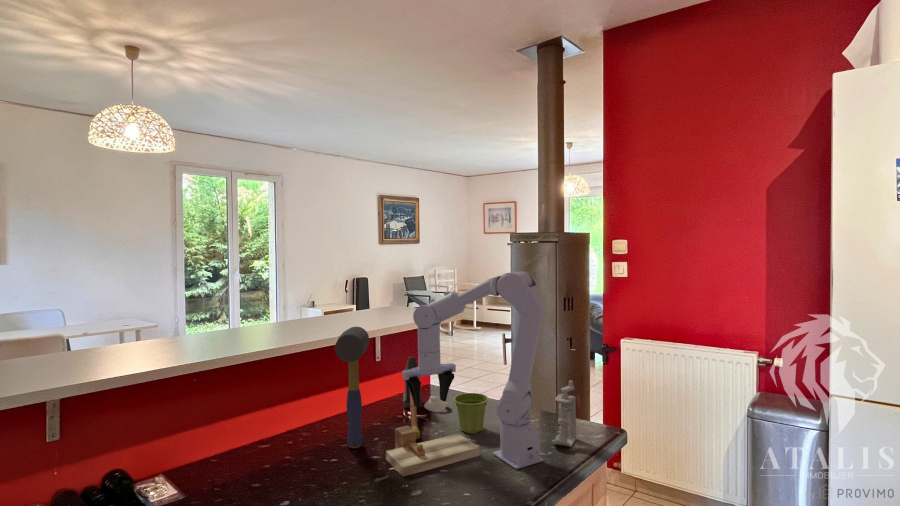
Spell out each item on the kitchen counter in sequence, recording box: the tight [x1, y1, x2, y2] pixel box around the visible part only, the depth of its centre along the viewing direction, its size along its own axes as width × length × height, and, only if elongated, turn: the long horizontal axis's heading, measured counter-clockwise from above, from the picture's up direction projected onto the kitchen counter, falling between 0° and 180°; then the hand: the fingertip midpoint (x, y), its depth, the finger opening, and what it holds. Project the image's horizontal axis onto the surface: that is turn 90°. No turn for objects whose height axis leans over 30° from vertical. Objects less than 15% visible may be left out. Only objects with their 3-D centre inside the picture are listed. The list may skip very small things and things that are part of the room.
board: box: [385, 433, 481, 477], centre depth 116 cm, size 10×20×2 cm, turn 119°
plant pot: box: [453, 392, 489, 434], centre depth 133 cm, size 9×9×9 cm
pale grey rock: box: [423, 395, 450, 413], centre depth 151 cm, size 8×7×5 cm
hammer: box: [402, 356, 423, 440], centre depth 141 cm, size 6×16×30 cm
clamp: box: [551, 379, 577, 448], centre depth 123 cm, size 4×10×15 cm, turn 152°
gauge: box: [394, 425, 425, 457], centre depth 117 cm, size 11×4×5 cm, turn 29°
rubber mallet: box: [334, 326, 370, 449], centre depth 123 cm, size 12×8×30 cm, turn 2°
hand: (430, 403), depth 126 cm, fingers open, 7 cm apart
